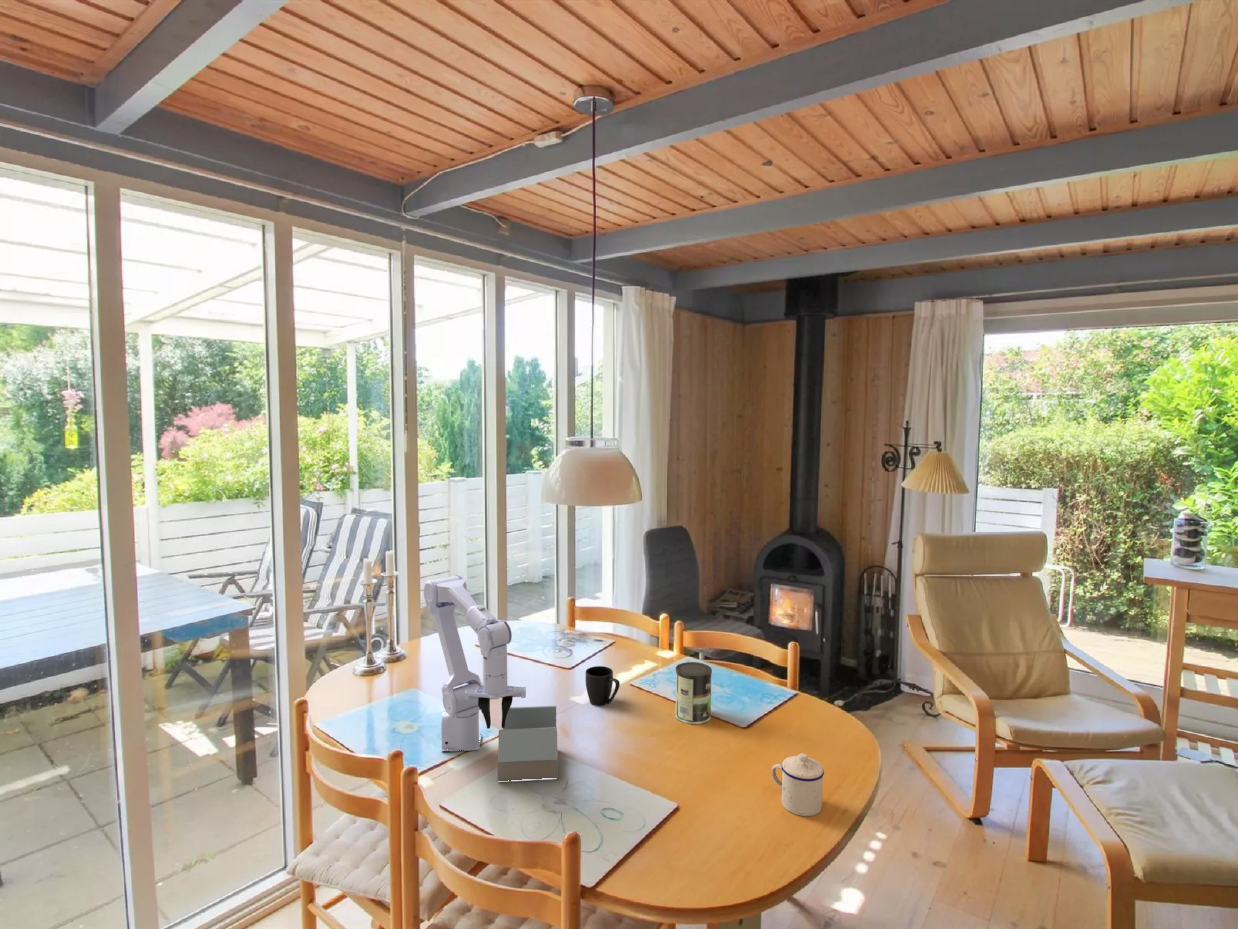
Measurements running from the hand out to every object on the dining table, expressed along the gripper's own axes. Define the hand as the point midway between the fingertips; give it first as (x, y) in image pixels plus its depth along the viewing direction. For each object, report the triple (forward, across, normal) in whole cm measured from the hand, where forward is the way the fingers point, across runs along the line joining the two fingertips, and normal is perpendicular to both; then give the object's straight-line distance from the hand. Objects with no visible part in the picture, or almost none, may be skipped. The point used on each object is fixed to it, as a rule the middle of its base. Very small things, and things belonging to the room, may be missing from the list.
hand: (496, 726), depth 159 cm
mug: (+11, +29, +32) cm, 44 cm away
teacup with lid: (+11, +68, -21) cm, 72 cm away
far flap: (+2, +8, +7) cm, 10 cm away
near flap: (+2, +8, -6) cm, 10 cm away
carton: (+10, +8, 0) cm, 13 cm away
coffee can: (+11, +54, +22) cm, 59 cm away
